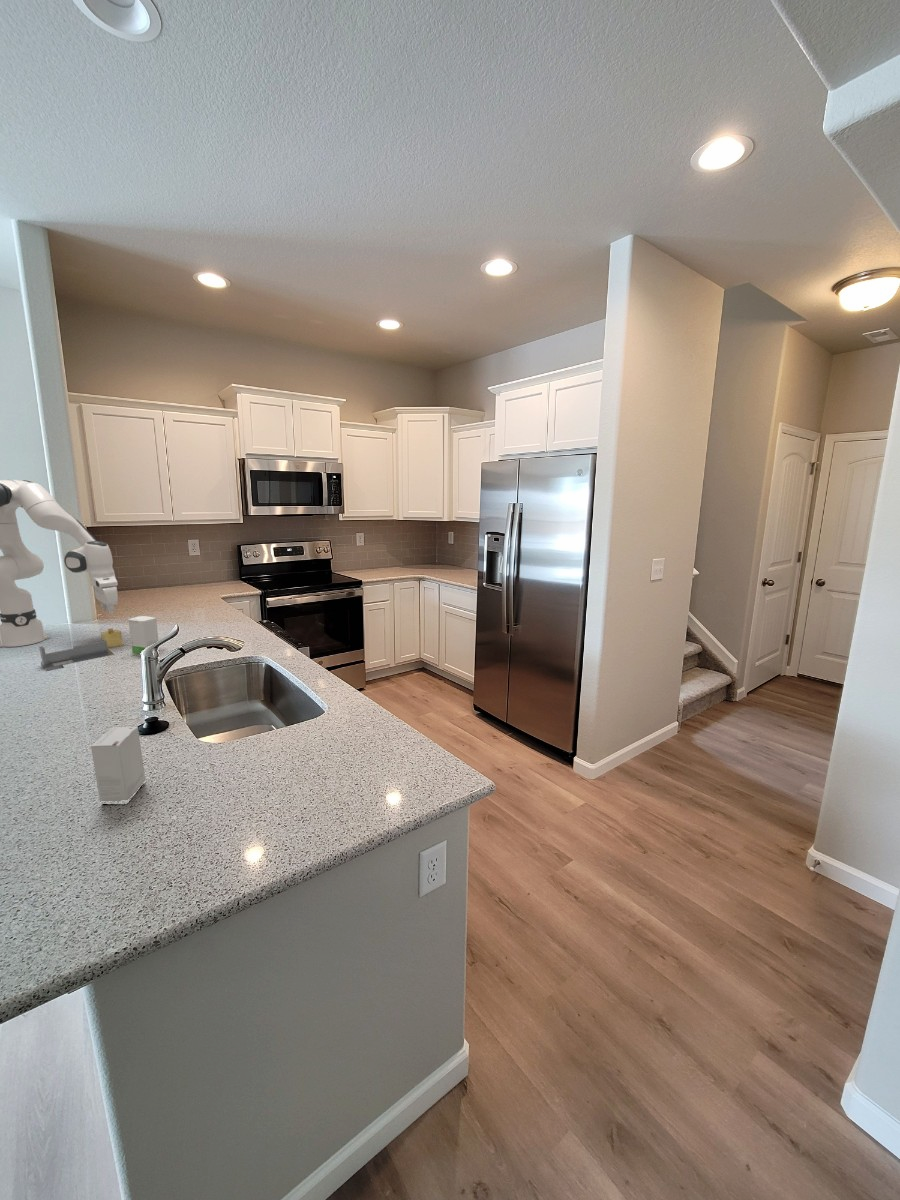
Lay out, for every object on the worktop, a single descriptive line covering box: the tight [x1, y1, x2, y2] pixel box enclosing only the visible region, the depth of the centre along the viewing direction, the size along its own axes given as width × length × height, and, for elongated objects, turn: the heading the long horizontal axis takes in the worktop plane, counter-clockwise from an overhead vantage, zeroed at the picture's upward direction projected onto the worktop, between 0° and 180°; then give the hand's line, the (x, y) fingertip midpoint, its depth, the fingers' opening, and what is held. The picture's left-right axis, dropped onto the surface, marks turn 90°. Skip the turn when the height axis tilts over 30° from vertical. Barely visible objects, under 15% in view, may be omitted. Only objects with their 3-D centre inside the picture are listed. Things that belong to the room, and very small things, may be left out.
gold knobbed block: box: [101, 628, 124, 649], centre depth 210 cm, size 5×6×7 cm
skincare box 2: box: [127, 615, 159, 657], centre depth 201 cm, size 8×7×16 cm
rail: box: [38, 640, 115, 672], centre depth 194 cm, size 10×22×8 cm, turn 138°
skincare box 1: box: [90, 726, 146, 803], centre depth 108 cm, size 8×6×15 cm
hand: (108, 612), depth 208 cm, fingers open, 8 cm apart
